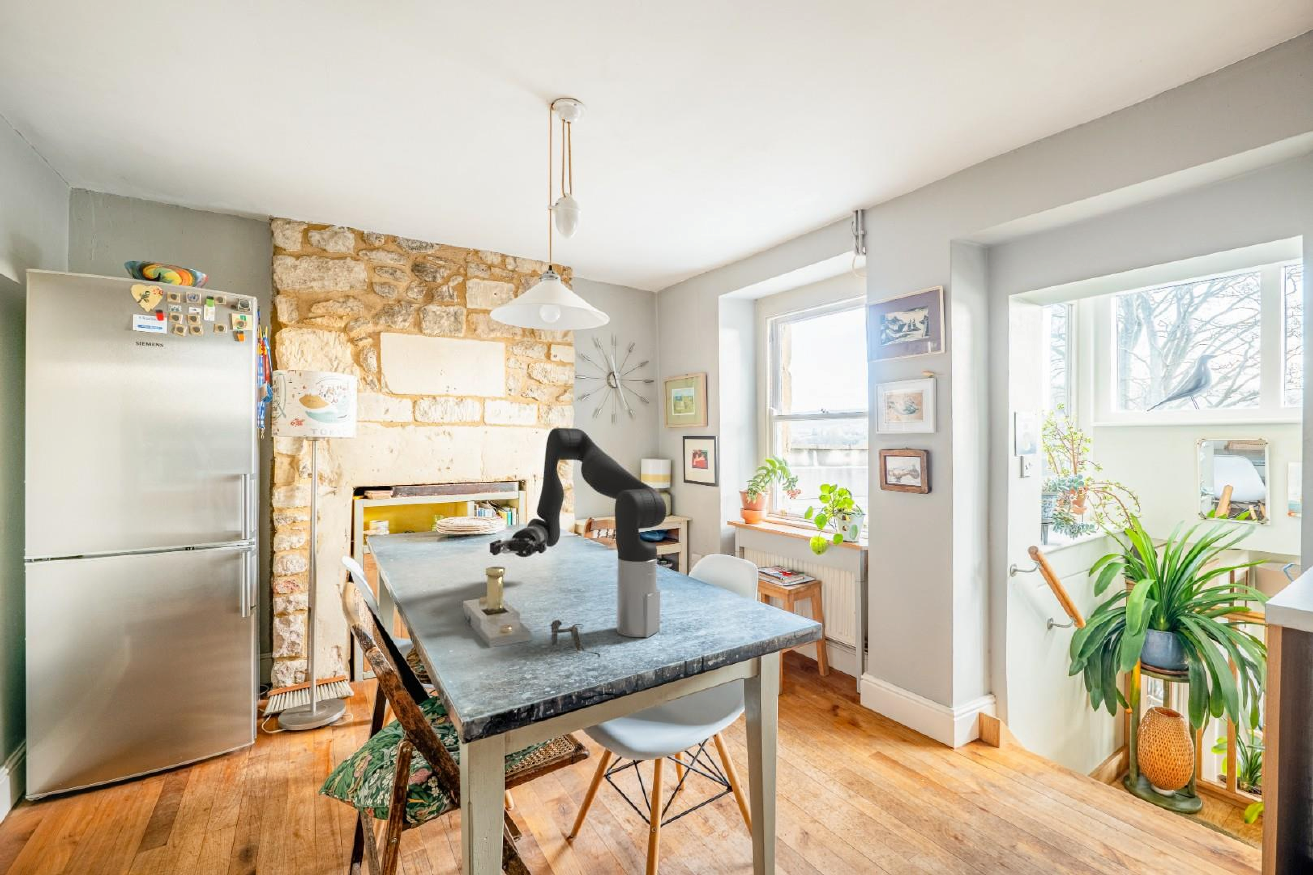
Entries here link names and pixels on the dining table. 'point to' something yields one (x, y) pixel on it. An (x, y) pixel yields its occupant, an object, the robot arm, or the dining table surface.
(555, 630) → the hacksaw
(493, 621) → the gray block
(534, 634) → the dining table surface
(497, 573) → the pin
